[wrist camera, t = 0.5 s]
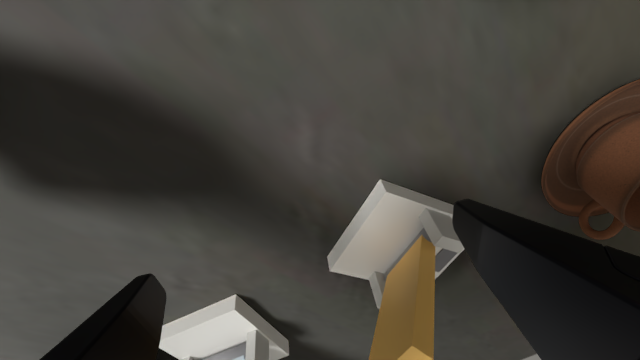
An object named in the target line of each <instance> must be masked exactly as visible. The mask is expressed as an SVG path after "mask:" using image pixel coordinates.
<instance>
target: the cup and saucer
mask: <svg viewBox="0 0 640 360" xmlns="http://www.w3.org/2000/svg"><path fill="white" fill-rule="evenodd" d="M541 185H542V190H543V194H544V196H545V198H546V200H547V201H548V203H549V204H550V205H551V206H552V207H553V208H554V209H555V210H557V211H558V212H560V213H562V214H565V215H569V216H576V217H579V225H580V228H581V230H582V231H583V232H584V233H585V234H586V235H587V236H589V237H591V238H593V239H597V240H604V239H609V238H611V237H613V236H615V235H616V234H617V233H618V232H619V231H620V230H621V229H622V228H623V227H624V225H626V226H627V227H628V228H630V229H632V230H635V231H640V79H639V80H636V81H634V82H631V83H629V84H626V85H624V86H622V87H620V88H618V89H616V90H614V91H612V92H610V93H609V94H607V95H605V96H604V97H602V98H600V99H599V100H597V101H596V102H594V103H593V104H592V105H590V106H589V107H588V108H586V109H585V110H584V111H583V112H581V113H580V114H579V115H578V116H577V117H576V118H575V119H574V120H573V121H572V122H571V123H570V124H569V125H568V126H567V127H566V128H565V130H564V131H563V132H562V133H561V135H560V136H559V137H558V139H557V140H556V142H555V143H554V145H553V147H552V148H551V150H550V152H549V154H548V156H547V159H546V162H545V164H544V168H543V172H542V178H541ZM609 212H610V213H611V214H612V215H613V216H614V220H613V222H612V224H611V225H610V226H609V227H608V228H607V229H606V230H604V231H596V230H594V229H592V228H591V227H590V225H589V222H588V218H589V216H596V215H601V214H605V213H609Z"/></svg>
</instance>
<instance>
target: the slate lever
mask: <svg viewBox="0 0 640 360" xmlns="http://www.w3.org/2000/svg"><path fill="white" fill-rule="evenodd" d="M245 357H246V342H245V343H243V344H240V345H238V346H235V347H232V348H230V349H227V350H225V351H222V352H220V353H217V354H215V355H212V356H210V357H207V358H205V359H202V360H245Z"/></svg>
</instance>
